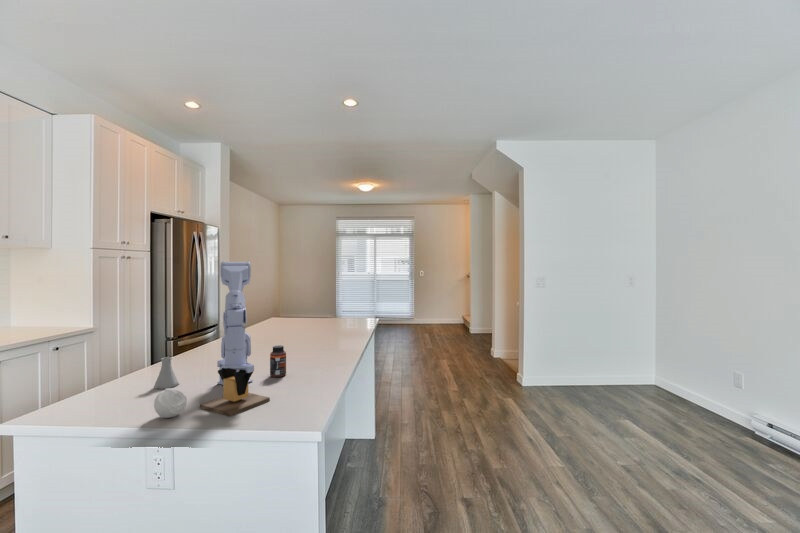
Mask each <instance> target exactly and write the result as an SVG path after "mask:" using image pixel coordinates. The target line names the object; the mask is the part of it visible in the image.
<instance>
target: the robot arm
mask: <svg viewBox="0 0 800 533" xmlns="http://www.w3.org/2000/svg"><path fill="white" fill-rule="evenodd" d="M219 266H220V267H219V268H220V269H219V270H220V273H219V274H220V275H219V276H220V278H221V279H220V280H221V283H222V285H224V286H226V287H227V288H228V290H229V292H227V294H226V295H225V303H224V304H225V305H224V306H225V308H224V311H223V313H222V324H223V325H222V326H223V330H224V331H223V332H224V333H223V336H222V337H221V344H220V357H221V358H222V359H220V360H217V362H216V363H217V364H216V365H217V366H216V367H217V368H219V369H218V370H217V373H218V375H219V381H218V382H217V383H216V384H218V385H221V386H222V385H223V379H225V378H228V377H232V376H234V377H235V380H236V385H237V393H238V395H239V396H240V395H243V394H245V392H246V388H247V384H248V385H249V383H251V382H253V381H254V380H253V379H250V378H251V377H252V375H253V374H254V372H255V364H252V363H249V362H248V357H250V356H251V355H252V341H251V336H250V334H249V333H248V332H246V327H247V324H248V322H247V315H248V314H247V313H248V312H247V308H246V295H245V294H244V292H243V291H244V288H245V286H247V285H249V284H250V282H251V277H252V276H251V271H252V268H251V267H252V266H251V262H250V261H249V260H248V261H221V262H220V265H219ZM244 324H245V325H244Z"/></svg>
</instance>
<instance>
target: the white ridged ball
mask: <svg viewBox="0 0 800 533" xmlns="http://www.w3.org/2000/svg"><path fill="white" fill-rule="evenodd" d="M153 401H154V402H153V408H154V410H155V412H156V414H157V415H158V416H159V417H161V418H166V419H167V418H174V417H177V416H178V415H179V414H181V413H182V412H183V411H184V410H185V409H186V406H187V404H188V398H187V396H186V395H185V394H184V393H183V392H182V391H180V390H178V389H175V388H172V387H171V388H166V389H163V390H161V391H160V392H159V393H158V394H157V395H156V396H155V398H154V400H153Z"/></svg>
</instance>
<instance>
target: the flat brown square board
mask: <svg viewBox="0 0 800 533" xmlns="http://www.w3.org/2000/svg"><path fill="white" fill-rule="evenodd" d="M270 400H271V399H270V397H268V396H264V395H259V394H257V393H251V392H248V397H245V398H243V399H240V400H237V401H230V400H226V399H223V396H220V397H217V398H214V399H211V400H208V401H205V402H202V403H200V404H199V408H200V409H203V410H206V411H209V412H213V413H217V414H221V415H224V416H228V417H232V416H236V415H237V414H240V413H242V412H243V413H244V412H245V411H248V410H250V409H253V408H255V407H257V406H260V405H263V404H265V403H268V402H270Z"/></svg>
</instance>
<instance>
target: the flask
mask: <svg viewBox="0 0 800 533" xmlns="http://www.w3.org/2000/svg"><path fill="white" fill-rule="evenodd" d="M160 360H161V366H160V367H161V368H160V370H159V374H158V376H157V379H156V381H155V383H154V385H153V388H154V389H157V390H165V389H167V388H171V389H172V388H174V387H176V386H179V385H180V383H179V381H178V379H177V376H176V374H175V372H174V370H173V366H172V360H173V357H169V356H166V357H162V358H160Z"/></svg>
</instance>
